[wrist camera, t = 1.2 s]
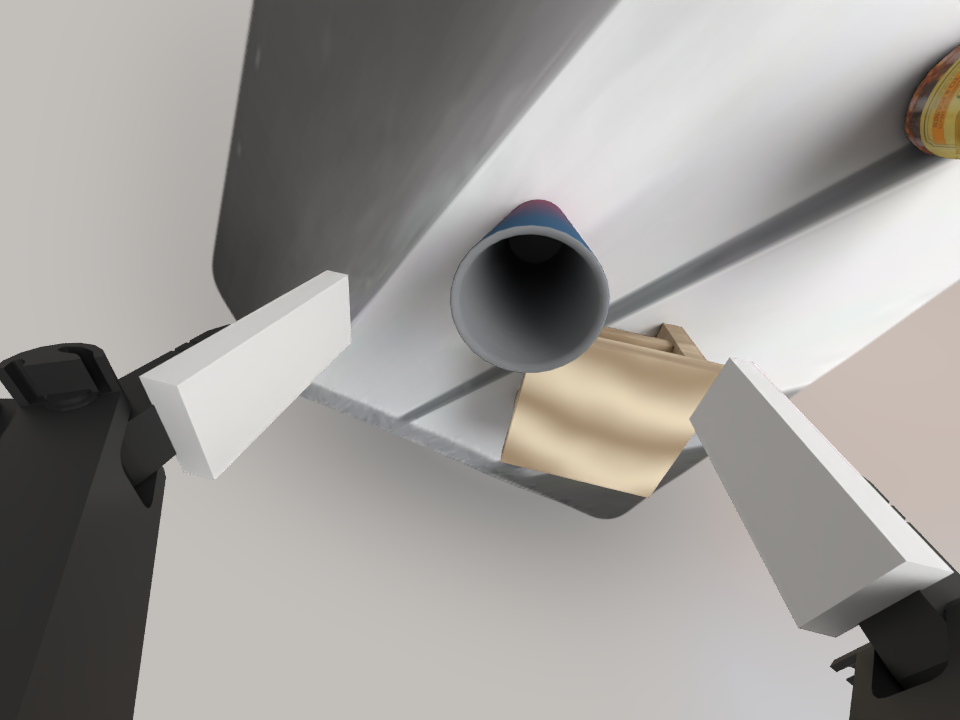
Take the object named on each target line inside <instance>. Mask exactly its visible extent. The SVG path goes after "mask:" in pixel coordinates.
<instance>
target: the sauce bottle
mask: <svg viewBox="0 0 960 720" xmlns="http://www.w3.org/2000/svg"><path fill="white" fill-rule="evenodd" d="M906 117H907V118H906V121H905V128H904V131H905V132H906V135H907V138H908V139H909V140H910V141H912V143H913V144H914V145H916V146H917V147H918V148H919V149H920V150H921V151H923V152H925V153H927V154H930V155H936V156H941V157H944V158H950V159H960V45H959V46H958V47H957V48H955V49H954V50H953V51H951V52H950V53H949V54H948V55H947V56H946V57H944V58H943V59H942V60H941V61H940V62H939V63H938V64H937V65H936V66H935V67H934V68H933V69H931V70H930V71H929V72H928V73H927V75H926V78H925V79H924V80H923V81H922V82H921V83H920V84H919V85H918V87H917V90H916V92H915V93H914V95H913V97H912V99H911V102H910V105H909V108H908V112H907V115H906Z"/></svg>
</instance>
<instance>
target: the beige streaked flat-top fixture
mask: <svg viewBox="0 0 960 720" xmlns="http://www.w3.org/2000/svg"><path fill="white" fill-rule="evenodd" d="M723 367H724V365H723V364H718V363H714V362H709V361H707V360H706V359H705V357H704V356H703V355H702V353H701V352H700V351H699V349H698V348H697V347H696V345H695V344H694V342H693V341H692V340H691V338H690V337H689V336H688V334H687V333H686V332H685V330H684V329H683V328H682V327H678V326H674V325H669V324H665V323H663V325H662V327H661V329H660V331H659V333H658V335H657V337H656V338H654V337H649V336H645V335H640V334H636V333H631V332H627V331H622V330H617V329H613V328H608V327H603V328H602V330H601V332H600V334H599V336H598V338H597V339H596V340H595V342H594V343H593V344H592V345H591V346H590V347H589V349H588V350H587V351H585V352H584V353H583V354H582V355H581V356H579V357H578V358H577V359H575V360H574V361H572V362H570V363H568V364H566V365H565V366H562V367H559V368H556V369H554V370H551V371H545V372H539V373H524V376H523V379H522V383H521V386H520V390H518V391H517V395H516V398H515V402H514V410H513V414H512V418H511V421H510V424H509V428H508V431H507V435H506V438H505V442H504V445H503V449H502V455H501V462H504V463H508V464H512V465H516V466H520V467H524V468H529V469H533V470H537V471H541V472H545V473H549V474H553V475H557V476H561V477H566V478H570V479H574V480H578V481H582V482H586V483H590V484H594V485H598V486H603V487H607V488H611V489H615V490H619V491H623V492H627V493H631V494H635V495H640V496H644V497H648V498H649V497H650V495H651V494H652V493H653V491H654V490H655V488H656V487H657V485H658V484H659V483H660V481H661V480H662V478H663V477H664V475H665V474H666V473H667V471H668V470H669V468H670V467H671V465H672V464H673V463H674V461H675V460H676V458H677V457H678V455H679V454H680V453H681V451H682V450H683V448H684V447H685V445H686V444H687V443H688V441H689V440H690V438H691V437H692V435H693V434H694V433H695V430H694V428H693V426H692V424H691V422H690V420H689V418H690V417H691V415H692V414H693V412H694V411H695V409H696V408H697V406H698V405H699V403H700V402H701V400H702V399H703V397H704V396H705V394H706V393H707V391H708V390H709V388H710V387H711V385H712V384H713V382H714V381H715V379H716V378H717V376H718V374H719V373H720V371H721V370H722V368H723Z"/></svg>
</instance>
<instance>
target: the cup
mask: <svg viewBox="0 0 960 720" xmlns="http://www.w3.org/2000/svg"><path fill="white" fill-rule="evenodd" d="M609 297H610V296H609V289H608V282H607V279H606V276H605V274H604V271H603V269H602V266H601V265H600V263H599V262H598V260H597V259H596V257H595V256H594V254H593V253H592V251H591V250H590V249H589V247H588V246H587V245H586V243H585V242H584V241H583V239H582V238H581V237H580V235H579V234H578V232H577V231H576V230H575V228H574V227H573V226H572V224H571V223H570V222H569V220H568V219H567V218H566V216H565V215H564V214H563V212H562V211H561V210H560V209H559V208H558V207H557V206H556V205H554V204H553V203H551V202H548V201H545V200H531V201H527V202H525V203H523V204H521V205H519V206H518V207H517V208H516V209H515V210H514V211H512V212H511V213H510V214H509V215H508V216H507V217H506V218H505V219H504V220H503V221H501V222H500V223H499V224H498V225H497V226H496V227H495V228H494V229H493V230H492V231H491V232H489V233H488V234H487V235H486V236H485V237H484V238H483V239H482V240H481V241H480V242H478V243H477V244H476V245H475V246H474V247H473V248H472V249H471V250H470V251H469V252H468V254H467V255H466V256H465V257H464V259H463V260H462V261H461V263H460V265H459V267H458V269H457V271H456V273H455V275H454V279H453V283H452V287H451V298H450V305H451V311H452V317H453V320H454V323H455V325H456V328H457V330H458V332H459V334H460V335H461V337H462V339H463V340H464V342H465V343H466V344H467V345H468V346H469V347H470V348H471V350H472V351H473V352H474V353H476V354H477V355H478V356H480V357H481V358H482V359H483V360H485V361H487V362H489V363H491V364H492V365H494V366H496V367H499V368H502V369H505V370H508V371H514V372H520V373H539V372H545V371H551V370H554V369H556V368H559V367H562V366H565V365H566V364H568V363H570V362H572V361H574V360H575V359H577V358H578V357H579V356H581V355H582V354H583V353H584V352H585V351H587V350H588V349H589V347H590V346H591V345H592V344H593V343H594V342H595V340H596V339H597V338H598V336H599V334H600V332H601V330H602V328H603V327H604V324H605V321H606V317H607V314H608V309H609Z"/></svg>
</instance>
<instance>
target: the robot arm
mask: <svg viewBox="0 0 960 720" xmlns="http://www.w3.org/2000/svg"><path fill="white" fill-rule="evenodd" d="M350 343H351V324H350V304H349V284H348V275H347V274H342V273H337V272H333V271H328V270H327V271H325V272H323V273H321V274H320V275H318V276H316V277H314V278H313V279H311V280H309V281H307V282H305V283H304V284H302V285H300V286H298V287H297V288H295V289H293V290H291V291H290V292H288V293H286V294H284V295H282V296H281V297H279V298H277V299H275V300H274V301H272V302H270V303H268V304H267V305H265V306H263V307H261V308H259V309H258V310H256V311H254V312H252V313H251V314H249V315H247V316H245V317H244V318H242V319H240V320H238V321H236V322H235V323H233V324H229V325H225V326H222V327H219V328H215V329H212V330H209V331H206V332H204V333H203V334H201V335H199V336H197V337H195V338H194V339H192V340H190V342H189V343H184V344H182V345H181V346H179V347H177V348H175V351H170V352H168V353H166V354H164V355H162V356H160V357H159V358H157V359H155V360H153V361H151V362H149V363H148V364H146V365H144V366H142V367H140V368H138V369H137V370H135V371H133V372H131V373H129V374H127V375H126V376H124V377H122V378H120V379H117V377H116V375H115V373H114V371H113V369H112V367H111V365H110V363H109V361H108V359H107V357H106V355H105V353H104V351H103V350H102V349H100V348H99V347H97V346H95V345H91V344H84V343H65V344H64V343H63V344H57V345H50V346H44V347H39V348H36V349H32V350H29V351H25V352H22V353H19V354H17V355H15V356H12V357H10V358H8V359H6V360H3V361H2V362H1V363H0V381H1V382H2V383H3V385H4V386H5V388H6V389H7V390H8V392H9V393H10V394H11V396H12V397H13V398H14V399H0V720H133V713H134V706H135V699H136V691H137V685H138V677H139V670H140V663H141V656H142V647H143V641H144V634H145V626H146V619H147V612H148V604H149V597H150V590H151V582H152V575H153V568H154V560H155V553H156V546H157V538H158V531H159V523H160V516H161V509H162V502H163V495H164V487H165V480H166V476H165V471H164V468H163V467H162V465H164V464H165V463H166V462H167V461H169V460H170V459H171V458H172V457H173V456H175V455H176V456H177V459H178V461H179V463H180V465H181V467H182V469H183V472H185V473H189V474H193V475H197V476H201V477H205V478H209V479H212V480H215V479H216V478H217V477H218V476H219V475H220V474H221V473H222V472H223V471H224V470H225V469H226V468H227V467H228V466H229V465H230V464H231V463H232V462H233V461H234V460H235V459H236V458H237V457H238V456H239V455H240V454H241V453H242V452H243V451H244V450H245V449H246V448H247V447H248V446H249V445H250V444H251V443H252V442H253V441H254V440H255V439H256V438H257V437H258V436H259V435H260V434H261V433H262V432H263V431H264V430H265V429H266V428H267V427H268V426H269V425H270V424H271V423H272V422H273V421H274V420H275V419H276V418H277V417H278V416H279V415H280V414H281V413H282V412H283V411H284V410H285V409H286V408H287V407H288V406H289V405H290V404H291V403H292V402H293V401H294V400H295V399H296V398H297V397H298V396H299V395H300V394H301V393H302V392H303V391H304V390H305V389H306V388H307V387H308V386H309V385H310V384H311V383H312V382H313V381H314V380H315V379H316V378H317V377H318V376H319V375H320V374H321V373H322V372H323V371H324V370H325V369H326V368H327V367H328V366H329V365H330V364H331V363H332V362H333V361H334V360H335V359H336V358H337V357H338V356H339V355H340V354H341V353H342V352H343V351H344V350H345V349H346V347H347V346H348V345H349V344H350ZM689 420H690V422H691V424H692V426H693V428H694V430H695V432H696V433H697V435H698V437H699V439H700V441H701V443H702V445H703V447H704V449H705V451H706V453H707V454H708V456H709V458H710V460H711V462H712V464H713V466H714V468H715V470H716V472H717V473H718V475H719V477H720V479H721V481H722V483H723V485H724V487H725V489H726V491H727V493H728V495H729V496H730V498H731V500H732V502H733V504H734V506H735V508H736V510H737V512H738V514H739V516H740V517H741V519H742V521H743V523H744V525H745V527H746V529H747V531H748V533H749V535H750V537H751V538H752V540H753V542H754V544H755V546H756V548H757V550H758V552H759V554H760V556H761V557H762V559H763V561H764V563H765V565H766V567H767V569H768V571H769V573H770V575H771V577H772V578H773V580H774V582H775V584H776V586H777V588H778V590H779V592H780V594H781V596H782V598H783V600H784V602H785V603H786V605H787V607H788V609H789V611H790V613H791V615H792V617H793V619H794V621H795V622H796V624H797V626H798V628H800V629H804V630H808V631H812V632H816V633H820V634H824V635H828V636H832V637H838V636H840V635H841V634H843V633H844V632H847V631H848V630H850V629H852V628H854V627H856V626H857V625H860V627H861V629H862V630H863V632H864V633H865V635H866V636H867V638H868V639H869V641H870V642H869V643H867V644H865V645H864V646H861V647H859V648H857V649H856V650H853V651H851V652H850V653H847V654H846V655H843V656H842V657H839V658H838V659H835V660H834V661H833V663H832V664H831V666H830V667H831V668H832V669H834V670H835V671H836V672H838V671H839V670H842V669H844V668H846V667H852V668H855V675H854V676H852V677H850V678H847V679H846V680H847V681H848V682H849V683H850V684H852V685H853V691H852V700H851V709H850V717H849V720H960V574H959V573H958V572H957V571H956V570H955V569H954V568H953V567H952V566H951V565H950V564H949V563H948V562H947V561H946V560H945V559H944V558H943V557H942V556H941V555H940V554H939V553H938V551H937V550H936V549H935V548H934V547H933V546H932V545H931V544H930V543H929V542H928V541H927V540H926V539H925V538H924V537H923V536H922V535H921V534H920V533H919V532H918V531H917V530H916V529H915V528H914V527H913V526H912V525H911V523H909V522H906V521H905V517H904V516H903V515H902V514H901V513H900V512H899V511H898V510H897V509H896V508H895V507H894V506H892V505H889V501H888V500H887V499H886V498H885V497H884V496H883V494H881V493H880V491H879V490H878V489H876V487H875V486H874V485H873V484H872V483H871V482H870V481H868V480H867V479H866V478H864V477H863V476H862V475H860V474H859V473H858V472H857V470H856V469H855V468H854V467H853V466H852V465H851V464H850V463H849V462H848V461H847V460H846V459H845V458H844V457H843V456H842V455H841V454H840V453H839V452H838V451H837V449H836V448H835V447H834V446H833V445H832V444H831V443H830V442H829V441H828V440H827V439H826V438H825V437H824V436H823V435H822V434H821V433H820V432H819V431H818V430H817V429H816V428H815V427H814V426H813V425H812V423H811V422H810V421H809V420H808V419H807V418H806V417H805V416H804V415H803V414H802V413H801V412H800V411H799V410H798V409H797V408H796V407H795V406H794V405H793V404H792V402H790V400H789V399H788V398H787V397H786V396H785V395H784V394H783V393H782V392H781V391H780V390H779V389H778V388H777V387H776V386H775V385H774V384H773V383H772V382H771V381H770V379H769V378H768V377H767V376H766V375H765V374H764V373H763V372H762V371H761V370H760V369H759V368H758V367H757V366H756V365H755V364H754V363H753V362H748V361H743V360H739V359H734V358H729V359H728V361H727V362H726V364H725V365H724V367H723V368H722V370H721V371H720V373H719V374H718V376H717V378H716V379H715V381H714V382H713V384H712V385H711V387H710V388H709V390H708V391H707V393H706V394H705V396H704V397H703V399H702V400H701V402H700V403H699V405H698V406H697V408H696V409H695V411H694V412H693V414H692V415H691V417H690V418H689Z"/></svg>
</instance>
